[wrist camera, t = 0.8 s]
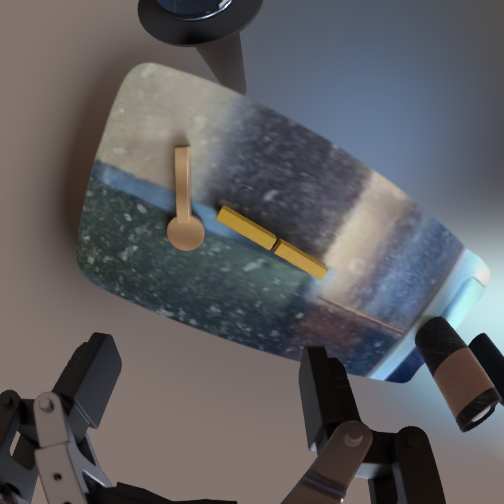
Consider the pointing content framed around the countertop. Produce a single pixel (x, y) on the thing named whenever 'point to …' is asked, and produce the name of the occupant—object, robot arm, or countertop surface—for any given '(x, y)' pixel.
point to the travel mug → (457, 374)
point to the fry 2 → (300, 259)
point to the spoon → (184, 206)
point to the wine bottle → (489, 361)
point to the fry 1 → (246, 227)
